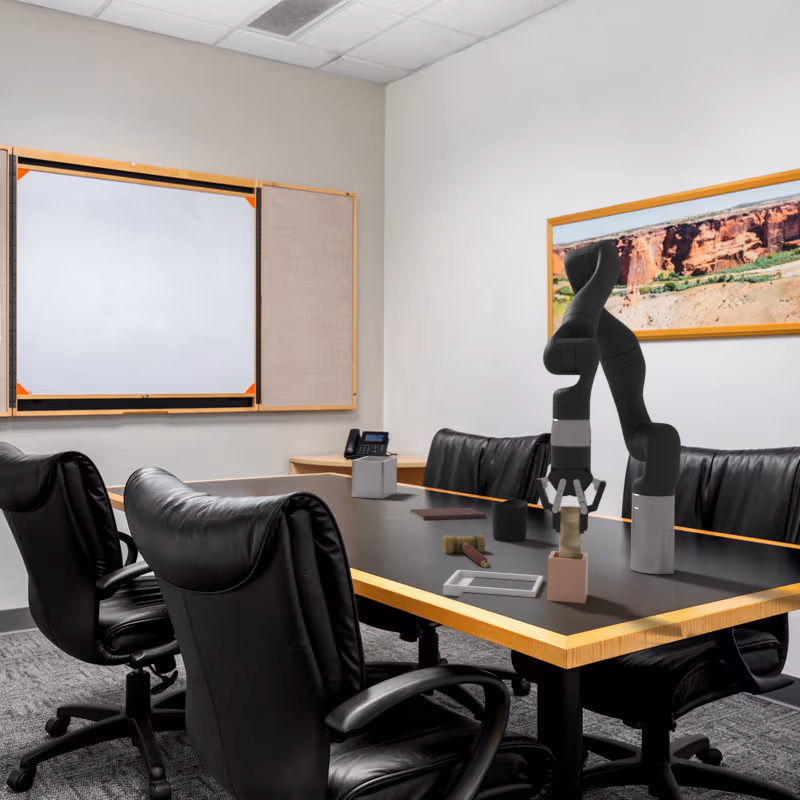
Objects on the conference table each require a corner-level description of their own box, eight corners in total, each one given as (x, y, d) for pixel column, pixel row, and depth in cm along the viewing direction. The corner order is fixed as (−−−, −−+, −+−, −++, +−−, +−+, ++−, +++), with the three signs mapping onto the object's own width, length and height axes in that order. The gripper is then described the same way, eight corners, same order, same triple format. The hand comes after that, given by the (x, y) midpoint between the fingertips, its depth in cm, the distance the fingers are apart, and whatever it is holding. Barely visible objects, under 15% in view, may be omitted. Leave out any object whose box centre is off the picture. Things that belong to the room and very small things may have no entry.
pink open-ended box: (587, 599, 168) (588, 553, 168) (585, 608, 161) (585, 560, 161) (550, 596, 170) (551, 550, 170) (547, 605, 163) (548, 557, 163)
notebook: (410, 514, 273) (410, 508, 272) (469, 512, 278) (469, 506, 277) (423, 522, 258) (423, 515, 258) (485, 520, 263) (485, 513, 263)
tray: (542, 585, 179) (542, 575, 179) (534, 602, 165) (535, 591, 165) (457, 579, 183) (457, 569, 183) (443, 594, 170) (443, 584, 170)
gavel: (507, 555, 195) (465, 556, 193) (507, 575, 195) (464, 576, 193) (480, 532, 215) (441, 533, 213) (479, 550, 216) (440, 551, 213)
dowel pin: (580, 578, 167) (581, 506, 166) (579, 583, 163) (580, 509, 162) (559, 577, 168) (560, 505, 167) (558, 581, 164) (558, 508, 163)
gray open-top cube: (396, 492, 320) (397, 457, 319) (383, 498, 303) (383, 461, 302) (366, 490, 323) (367, 456, 322) (351, 497, 306) (352, 460, 305)
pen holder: (526, 543, 224) (526, 505, 224) (489, 541, 226) (490, 503, 226) (528, 536, 233) (528, 500, 233) (493, 535, 235) (493, 498, 235)
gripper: (609, 442, 166) (608, 531, 167) (535, 440, 170) (534, 527, 171) (608, 445, 159) (607, 538, 160) (531, 443, 163) (530, 534, 163)
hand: (569, 532), depth 165 cm, fingers closed on dowel pin, 4 cm apart
